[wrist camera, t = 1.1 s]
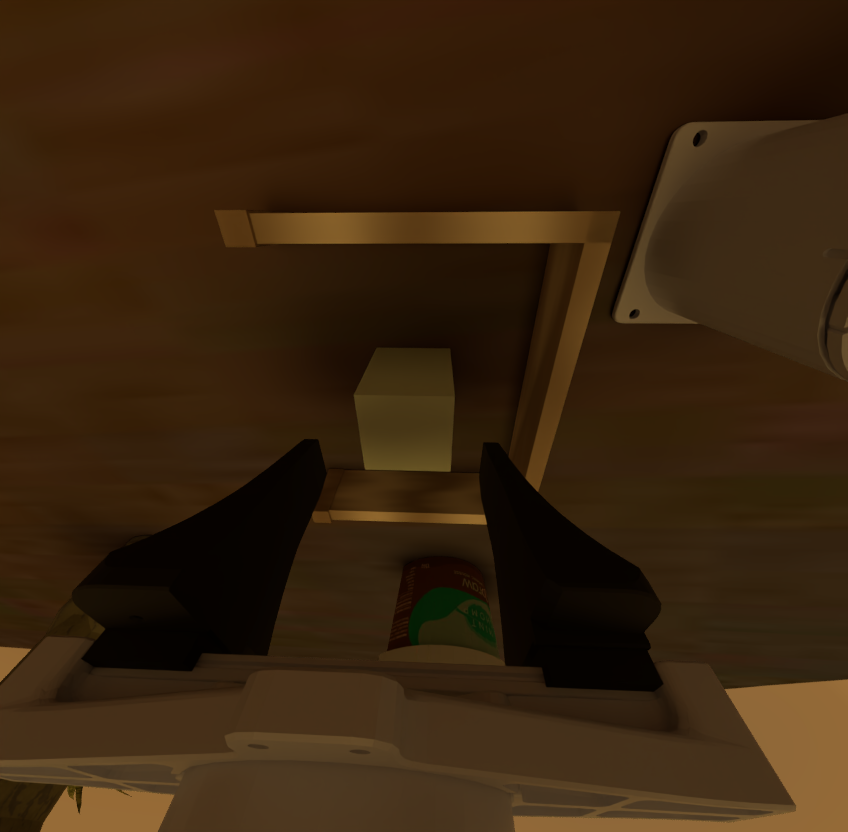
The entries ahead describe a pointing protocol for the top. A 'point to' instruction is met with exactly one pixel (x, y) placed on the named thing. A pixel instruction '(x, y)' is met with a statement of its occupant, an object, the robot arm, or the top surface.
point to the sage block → (407, 410)
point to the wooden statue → (32, 802)
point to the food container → (442, 615)
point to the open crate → (547, 360)
